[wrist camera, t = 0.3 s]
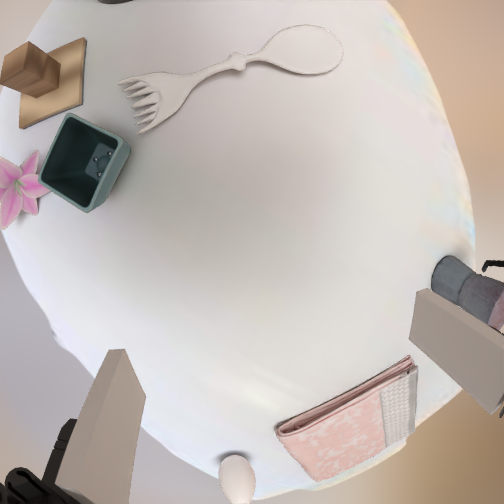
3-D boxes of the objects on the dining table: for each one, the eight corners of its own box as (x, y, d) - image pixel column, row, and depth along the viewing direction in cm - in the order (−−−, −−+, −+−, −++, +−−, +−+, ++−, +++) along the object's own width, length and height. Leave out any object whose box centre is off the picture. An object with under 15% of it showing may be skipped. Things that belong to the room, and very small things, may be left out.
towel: (409, 422, 60) (417, 434, 54) (310, 474, 59) (315, 487, 53) (409, 350, 50) (424, 363, 44) (270, 422, 48) (275, 442, 43)
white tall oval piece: (210, 455, 49) (216, 518, 32) (237, 444, 49) (249, 510, 31) (230, 466, 51) (239, 524, 34) (256, 456, 51) (270, 516, 34)
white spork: (122, 88, 29) (115, 80, 26) (321, 26, 30) (330, 17, 27) (142, 140, 32) (135, 136, 29) (345, 71, 33) (356, 64, 30)
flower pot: (69, 180, 31) (35, 181, 23) (96, 124, 30) (67, 110, 21) (115, 206, 33) (88, 214, 25) (144, 148, 32) (124, 139, 23)
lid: (27, 66, 23) (-8, 48, 13) (85, 39, 25) (57, 8, 14) (22, 128, 27) (-21, 120, 16) (81, 103, 28) (43, 82, 18)
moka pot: (417, 303, 46) (486, 352, 27) (446, 231, 43) (525, 258, 24) (440, 311, 48) (502, 353, 29) (466, 246, 45) (536, 274, 26)
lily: (15, 225, 32) (3, 252, 25) (-14, 167, 24) (-34, 182, 17) (68, 189, 36) (65, 208, 29) (42, 127, 28) (30, 131, 21)
